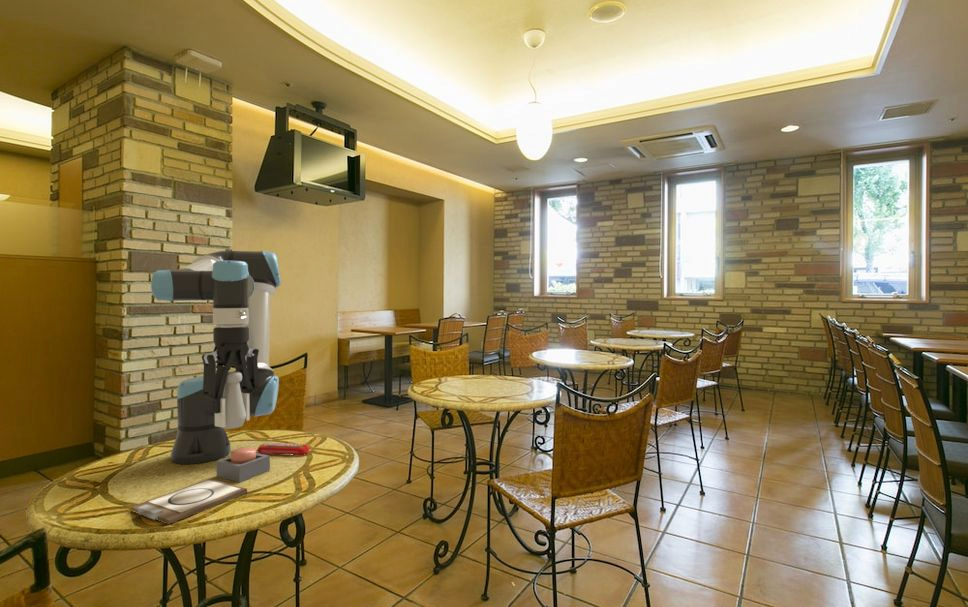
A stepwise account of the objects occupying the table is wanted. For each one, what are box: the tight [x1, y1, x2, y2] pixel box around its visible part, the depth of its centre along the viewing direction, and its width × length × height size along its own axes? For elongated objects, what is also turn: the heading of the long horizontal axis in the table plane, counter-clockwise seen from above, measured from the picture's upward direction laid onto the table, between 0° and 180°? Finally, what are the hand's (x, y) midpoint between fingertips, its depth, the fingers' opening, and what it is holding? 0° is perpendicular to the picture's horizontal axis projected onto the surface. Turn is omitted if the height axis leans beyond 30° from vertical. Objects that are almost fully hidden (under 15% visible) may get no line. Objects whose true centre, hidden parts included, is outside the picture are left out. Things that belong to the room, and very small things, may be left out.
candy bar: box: [256, 442, 311, 456], centre depth 144 cm, size 16×4×3 cm, turn 83°
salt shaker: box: [222, 371, 246, 430], centre depth 115 cm, size 6×6×13 cm
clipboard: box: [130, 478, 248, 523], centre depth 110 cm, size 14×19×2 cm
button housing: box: [216, 452, 271, 483], centre depth 128 cm, size 9×9×4 cm
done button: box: [230, 446, 257, 464], centre depth 128 cm, size 6×6×3 cm
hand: (232, 422), depth 115 cm, fingers closed on salt shaker, 6 cm apart
